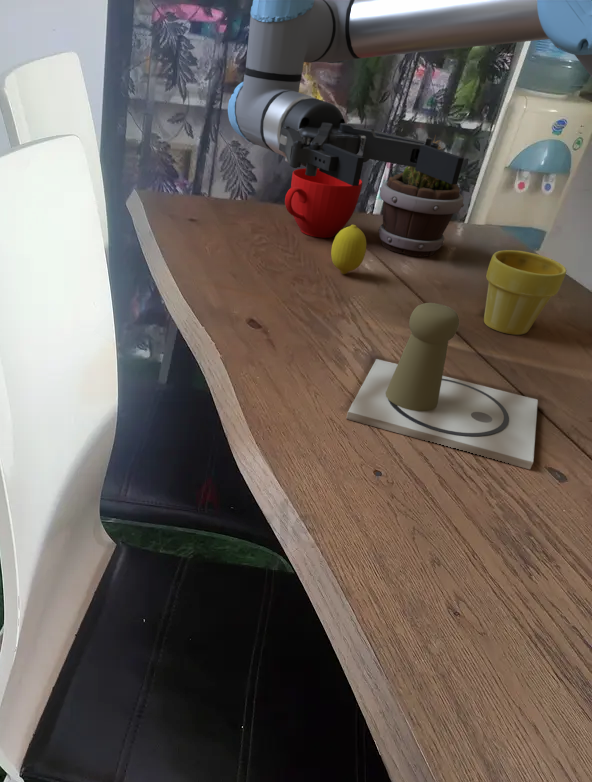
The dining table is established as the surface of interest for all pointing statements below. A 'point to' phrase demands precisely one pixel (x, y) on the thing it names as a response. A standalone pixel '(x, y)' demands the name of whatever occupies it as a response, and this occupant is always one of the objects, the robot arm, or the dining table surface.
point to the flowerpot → (417, 212)
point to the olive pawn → (423, 358)
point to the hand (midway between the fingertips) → (410, 171)
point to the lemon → (348, 249)
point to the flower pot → (519, 289)
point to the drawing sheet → (454, 417)
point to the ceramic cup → (321, 202)
